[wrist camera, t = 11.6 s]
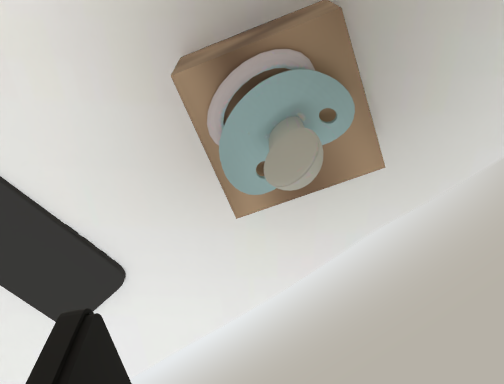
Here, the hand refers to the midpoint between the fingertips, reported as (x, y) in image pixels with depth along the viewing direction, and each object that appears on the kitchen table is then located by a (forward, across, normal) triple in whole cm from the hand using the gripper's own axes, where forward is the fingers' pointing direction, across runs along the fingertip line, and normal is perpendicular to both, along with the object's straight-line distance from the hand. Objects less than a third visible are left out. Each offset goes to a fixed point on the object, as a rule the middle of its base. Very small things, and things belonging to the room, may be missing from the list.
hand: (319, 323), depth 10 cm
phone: (+21, +20, +8) cm, 30 cm away
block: (+21, 0, +1) cm, 21 cm away
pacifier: (+17, 0, 0) cm, 17 cm away
